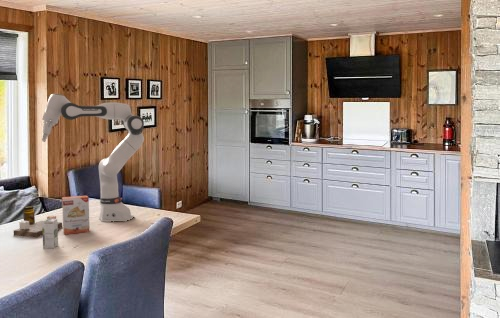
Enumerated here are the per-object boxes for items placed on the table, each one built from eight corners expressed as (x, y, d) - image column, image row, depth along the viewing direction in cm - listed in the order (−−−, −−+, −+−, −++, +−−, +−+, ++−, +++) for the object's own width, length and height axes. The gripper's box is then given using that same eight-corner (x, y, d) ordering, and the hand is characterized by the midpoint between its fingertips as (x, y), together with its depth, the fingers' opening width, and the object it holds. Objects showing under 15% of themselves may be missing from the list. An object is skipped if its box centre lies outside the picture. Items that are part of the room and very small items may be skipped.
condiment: (36, 226, 267) (35, 207, 265) (20, 228, 262) (19, 209, 261) (34, 223, 273) (33, 205, 271) (19, 225, 268) (18, 206, 267)
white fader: (29, 228, 251) (29, 221, 250) (25, 229, 248) (25, 222, 247) (23, 227, 252) (23, 220, 251) (19, 228, 249) (19, 221, 248)
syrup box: (47, 245, 230) (45, 218, 228) (58, 245, 231) (57, 218, 229) (43, 248, 224) (41, 221, 223) (54, 248, 225) (53, 221, 223)
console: (62, 227, 265) (62, 222, 264) (36, 237, 244) (36, 232, 243) (41, 225, 268) (40, 220, 268) (13, 235, 247) (13, 230, 247)
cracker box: (64, 235, 249) (62, 199, 246) (63, 232, 254) (61, 197, 251) (90, 232, 255) (88, 196, 253) (88, 229, 260) (87, 194, 258)
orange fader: (56, 222, 262) (56, 215, 262) (53, 223, 260) (52, 217, 259) (50, 222, 263) (50, 215, 263) (47, 223, 261) (46, 216, 260)
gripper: (56, 121, 257) (49, 143, 257) (55, 120, 275) (48, 141, 275) (45, 117, 254) (38, 140, 254) (44, 117, 273) (37, 138, 272)
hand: (43, 141), depth 265 cm, fingers open, 8 cm apart
